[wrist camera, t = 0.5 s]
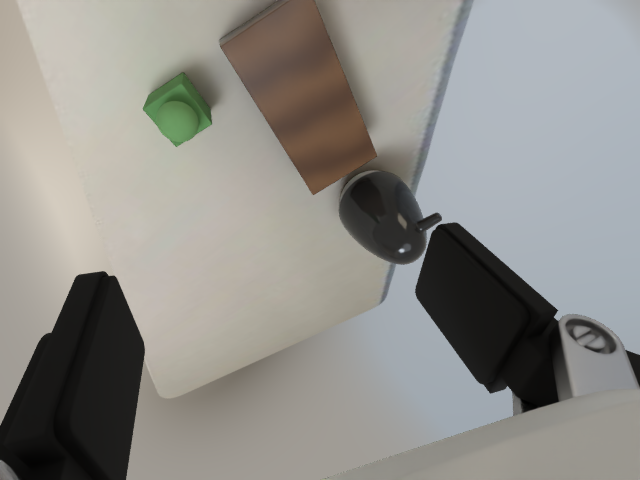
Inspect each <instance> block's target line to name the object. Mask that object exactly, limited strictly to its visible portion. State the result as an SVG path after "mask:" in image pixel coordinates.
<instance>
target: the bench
mask: <svg viewBox="0 0 640 480" xmlns="http://www.w3.org/2000/svg"><path fill="white" fill-rule="evenodd" d="M219 42H220V47H221V49H222V50H223V52H224V53H225V55H226V57H227V58H228V60H229V61H230V63H231V65H232V66H233V68H234V69H235V71H236V73H237V74H238V76H239V77H240V79H241V81H242V82H243V84H244V85H245V87H246V89H247V90H248V92H249V93H250V95H251V97H252V98H253V100H254V101H255V103H256V105H257V106H258V108H259V109H260V111H261V113H262V114H263V116H264V117H265V119H266V121H267V122H268V124H269V125H270V127H271V129H272V130H273V132H274V133H275V135H276V137H277V138H278V140H279V141H280V143H281V145H282V146H283V148H284V149H285V151H286V153H287V154H288V156H289V157H290V159H291V161H292V162H293V164H294V165H295V167H296V169H297V170H298V172H299V173H300V175H301V177H302V178H303V180H304V181H305V183H306V185H307V186H308V188H309V189H310V191H311V193H312V194H313V195H314V194H316V193H318V192H319V191H321V190H323V189H324V188H326V187H327V186H329V185H331V184H332V183H334V182H336V181H337V180H339V179H341V178H342V177H344V176H345V175H347V174H349V173H350V172H352V171H354V170H355V169H357V168H359V167H360V166H362V165H364V164H365V163H367V162H368V161H370V160H372V159H373V158H375V157H377V154H376V151H375V149H374V146H373V144H372V142H371V139H370V137H369V134H368V132H367V129H366V127H365V124H364V122H363V119H362V117H361V114H360V112H359V109H358V107H357V104H356V102H355V100H354V97H353V95H352V92H351V90H350V87H349V85H348V82H347V80H346V77H345V75H344V72H343V70H342V67H341V65H340V63H339V60H338V58H337V55H336V53H335V50H334V48H333V45H332V43H331V40H330V38H329V35H328V33H327V30H326V28H325V25H324V23H323V21H322V18H321V16H320V13H319V11H318V8H317V6H316V3H315V1H314V0H278V1H277V2H276V3H274V4H273V5H271V6H270V7H268V8H267V9H265V10H264V11H262V12H261V13H259V14H258V15H256V16H255V17H253V18H252V19H250V20H249V21H247V22H246V23H244V24H243V25H241V26H240V27H238V28H237V29H235V30H234V31H232V32H231V33H229V34H228V35H226V36H225V37H223V38H222V39H220V40H219Z"/></svg>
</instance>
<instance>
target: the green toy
mask: <svg viewBox="0 0 640 480" xmlns="http://www.w3.org/2000/svg"><path fill="white" fill-rule="evenodd" d="M143 110H144V111H145V112H146V114H147V115H148V116H149V117H150V118H151V119H152V120H153V121H154V123H155V124H156V125H157V126H158V128H159V130H160V131H161V133H162V134H163V135H164V136H165V137H167V138H168V139H169V140H170V141H171V142H172V143H173V144H174V145H175V146H176V147H177V146H179V145H180V144H182V143H183V142H185V141H188V140H190V139H192V138H193V137H194V136H195V135H196V134H197V133H199V132H200V131H202V130H204V129H205V128H207V127H208V126H210V125H211V124H212V119H211V110H210V108H209V107H208V105H207V104H206V103H205V101H204V100H203V98H202V97H201V96H200V94H199V93H198V92H197V90H196V89H195V88H194V86H193V85H192V83H191V82H190V81H189V79H188V78H187V77H186V75H185V74H184V73H181V74H180V75H178V76H177V77H175V78H174V79H172V80H171V81H169V82H168V83H166V84H165V85H163V86H162V87H160V88H159V89H157V90H156V91H154V92H153V93H151V94H150V95H149V96H148V98H147V100H146V103H145V105H144V107H143Z"/></svg>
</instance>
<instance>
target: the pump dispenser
mask: <svg viewBox="0 0 640 480" xmlns="http://www.w3.org/2000/svg"><path fill="white" fill-rule="evenodd" d="M339 217H340V220H341V222H342V224H343V226H344V227H345V229H346V230H347V231H348V233H349V234H350V235H351V236H352V237H353V238H354V239H355V240H356V241H357V242H358V243H359V244H360V245H361V246H363V247H364V248H365V249H366V250H368V251H369V252H371V253H372V254H374V255H376V256H378V257H379V258H381V259H383V260H386V261H388V262H391V263H395V264H401V265H402V264H403V265H404V264H409V263H412V262H414V261H416V260H417V259H418V258H419V257H420V256H421V255H422V254H423V252H424V250H425V248H426V242H427V233H426V230H428V229H429V228H431V227H432V226H434V225H435V224H437V223H438V222H440V221H441V220H442V217H441V215H440V214H439V213H435V214H432V215H430V216H428V217H426V218H424V219H423V216H422V213H421V210H420V208H419V205H418V203H417V201H416V199H415V197H414V196H413V194H412V193H411V191H410V190H409V188H408V187H407V185H406V184H405V183H404V182H403V181H402V180H401V179H400V178H399V177H398V176H396V175H395V174H393V173H390V172H385V171H377V170H372V171H366V172H363V173H360V174H358V175H356V176H355V177H353V178H352V179H351V180H350V181H349V182H348V183H347V184H346V186H345V187H344V189H343V191H342V193H341V196H340V202H339Z"/></svg>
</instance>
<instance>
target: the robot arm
mask: <svg viewBox="0 0 640 480" xmlns="http://www.w3.org/2000/svg"><path fill="white" fill-rule="evenodd" d="M415 290H416V291H415V293H416V296H417V299H418V300H419V301H420V303H421V304H422V306H423V307H424V308H425V310H426V311H427V313H428V314H429V315H430V316H431V318H432V320H433V321H434V322H435V324H436V325H437V326H438V328H439V329H440V331H441V332H442V333H443V335H444V336H445V337H446V339H447V340H448V342H449V343H450V344H451V346H452V347H453V348H454V350H455V351H456V353H457V354H458V355H459V357H460V358H461V360H462V361H463V362H464V364H465V365H466V366H467V368H468V369H469V370H470V372H471V373H472V375H473V376H474V377H475V379H476V380H477V381H478V382H479V383H480V384H484V386H485V387H486V389H487V390H488V391H489V393H494V392H497V391H501V390H504V389H506V387H507V386H508V387H509V388H510V389H511V391H512V393H513V416H512V417H509V418H506V419H503V420H500V421H497V422H494V423H491V424H488V425H485V426H482V427H479V428H476V429H473V430H469V431H466V432H463V433H460V434H457V435H454V436H451V437H448V438H445V439H442V440H439V441H436V442H433V443H431V444H427V445H424V446H421V447H418V448H415V449H412V450H409V451H406V452H403V453H400V454H397V455H394V456H391V457H388V458H385V459H382V460H379V461H376V462H373V463H370V464H367V465H364V466H361V467H358V468H355V469H352V470H349V471H346V472H343V473H340V474H337V475H334V476H331V477H328V478H325V479H322V480H640V355H638V354H635V353H632V352H629V351H627V350H625V348H624V346H623V344H622V342H621V341H620V339H619V337H618V336H617V335H616V334H615V333H614V332H613V331H612V330H610V329H609V328H608V327H606V326H605V325H603V324H601V323H600V322H598V321H596V320H594V319H591V318H589V317H586V316H582V315H577V314H568V315H565V316H562V318H561V319H560V320H559V321H557V320H556V319H555V318H554V316H555V314H556V313H557V311H558V310H557V309H556V308H555V307H553V306H552V305H551V304H550V303H549V302H548V301H547V300H546V299H544V298H543V297H542V296H541V295H540V294H539V293H538V292H536V291H535V290H534V289H533V288H532V287H531V286H529V285H528V284H527V283H526V282H525V281H524V280H523V279H522V278H520V277H519V276H518V275H517V274H516V273H515V272H514V271H512V270H511V269H510V268H509V267H508V266H507V265H505V264H504V263H503V262H502V261H501V260H500V259H499V258H497V257H496V256H495V255H494V254H493V253H492V252H491V251H489V250H488V249H487V248H486V247H485V246H484V245H483V244H481V243H480V242H479V241H478V240H477V239H476V238H475V237H473V236H472V235H471V234H470V233H469V232H468V231H466V230H465V229H464V228H463V227H462V226H461V225H460V224H458V223H447V224H440V225H438V226H437V227H436V229H435V230H434V231H433V232H432V234H431V238H430V241H429V244H428V248H427V251H426V254H425V258H424V261H423V265H422V268H421V271H420V275H419V278H418V282H417V285H416V289H415ZM144 354H145V347H144V342H143V339H142V337H141V334H140V332H139V330H138V327H137V325H136V323H135V320H134V318H133V315H132V313H131V311H130V308H129V306H128V304H127V301H126V299H125V297H124V294H123V292H122V289H121V287H120V285H119V282H118V280H117V278H116V277H115V276H108V274H107V273H106V272H104V271H102V272H95V273H88V274H81V275H78V276H76V278H75V280H74V282H73V285H72V287H71V289H70V291H69V294H68V296H67V298H66V301H65V303H64V305H63V308H62V310H61V312H60V314H59V317H58V319H57V321H56V324H55V326H54V328H53V331H52V333H48V334H46V335H44V336H43V337H42V338H41V340H40V341H39V343H38V345H37V347H36V349H35V351H34V354H33V356H32V358H31V360H30V362H29V365H28V367H27V369H26V371H25V373H24V375H23V378H22V380H21V382H20V384H19V386H18V389H17V391H16V393H15V395H14V397H13V400H12V401H11V404H10V406H9V408H8V410H7V413H6V415H5V417H4V419H3V421H2V423H1V425H0V480H126V476H127V469H128V462H129V455H130V449H131V442H132V435H133V428H134V422H135V415H136V408H137V402H138V395H139V388H140V382H141V375H142V367H143V361H144Z"/></svg>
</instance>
